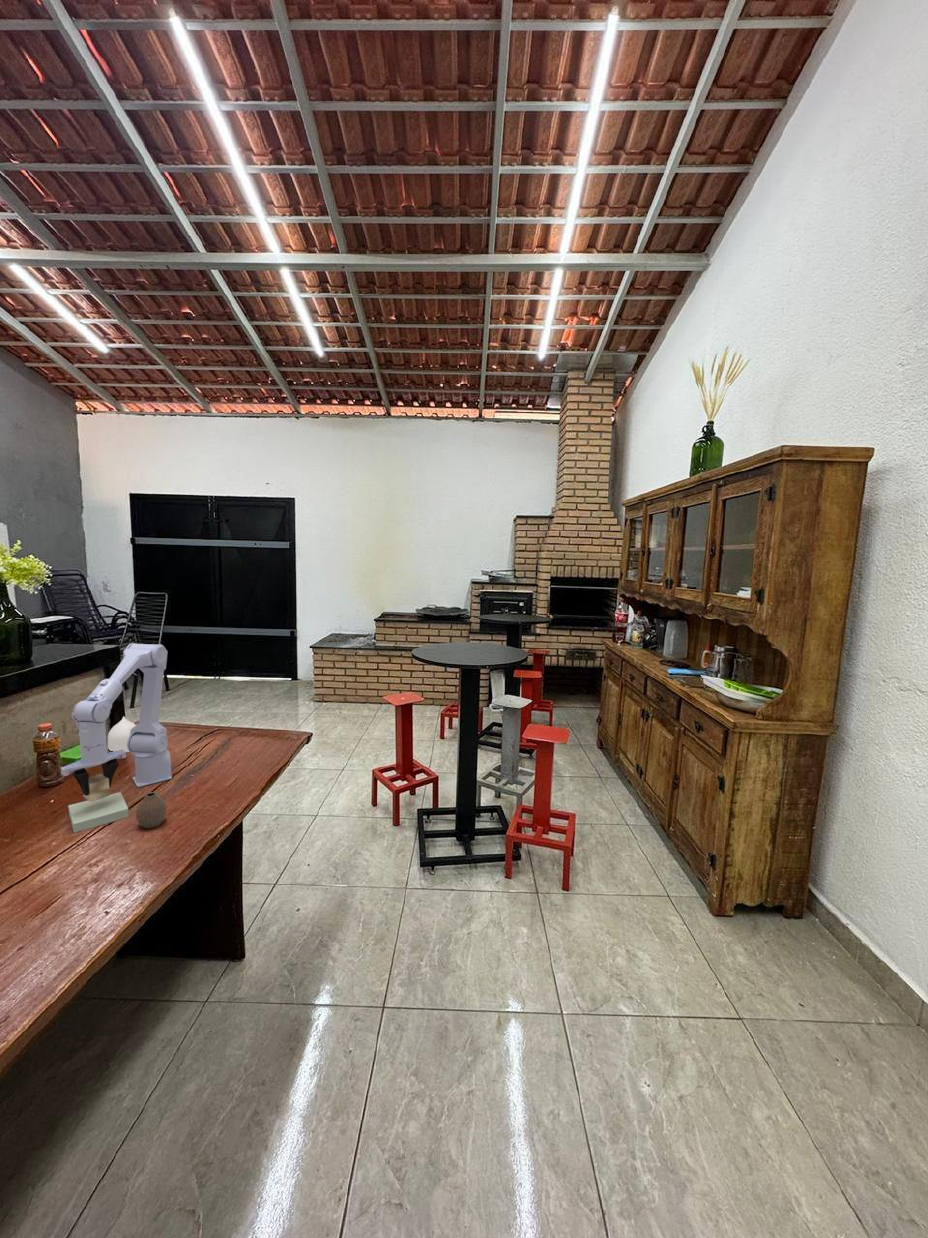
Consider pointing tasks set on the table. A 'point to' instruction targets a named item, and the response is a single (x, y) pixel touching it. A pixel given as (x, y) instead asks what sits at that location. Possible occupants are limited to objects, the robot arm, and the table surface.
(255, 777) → the table surface
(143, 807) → the vase
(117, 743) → the teardrop
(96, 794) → the beech block
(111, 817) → the base slab
